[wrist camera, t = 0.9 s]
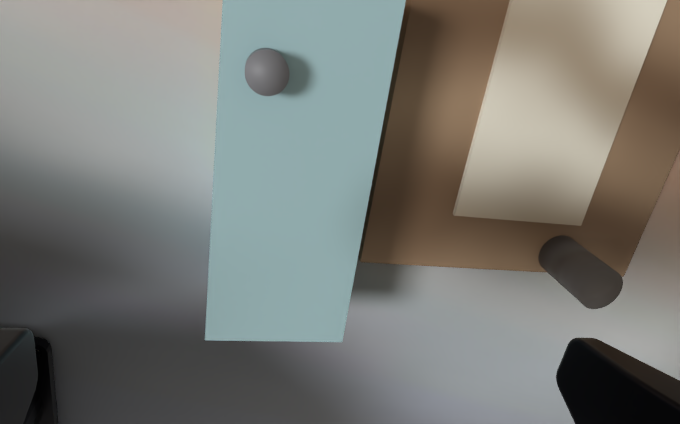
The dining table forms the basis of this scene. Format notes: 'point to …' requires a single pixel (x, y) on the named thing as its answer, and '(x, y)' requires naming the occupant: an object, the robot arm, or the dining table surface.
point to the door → (294, 162)
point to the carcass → (527, 137)
